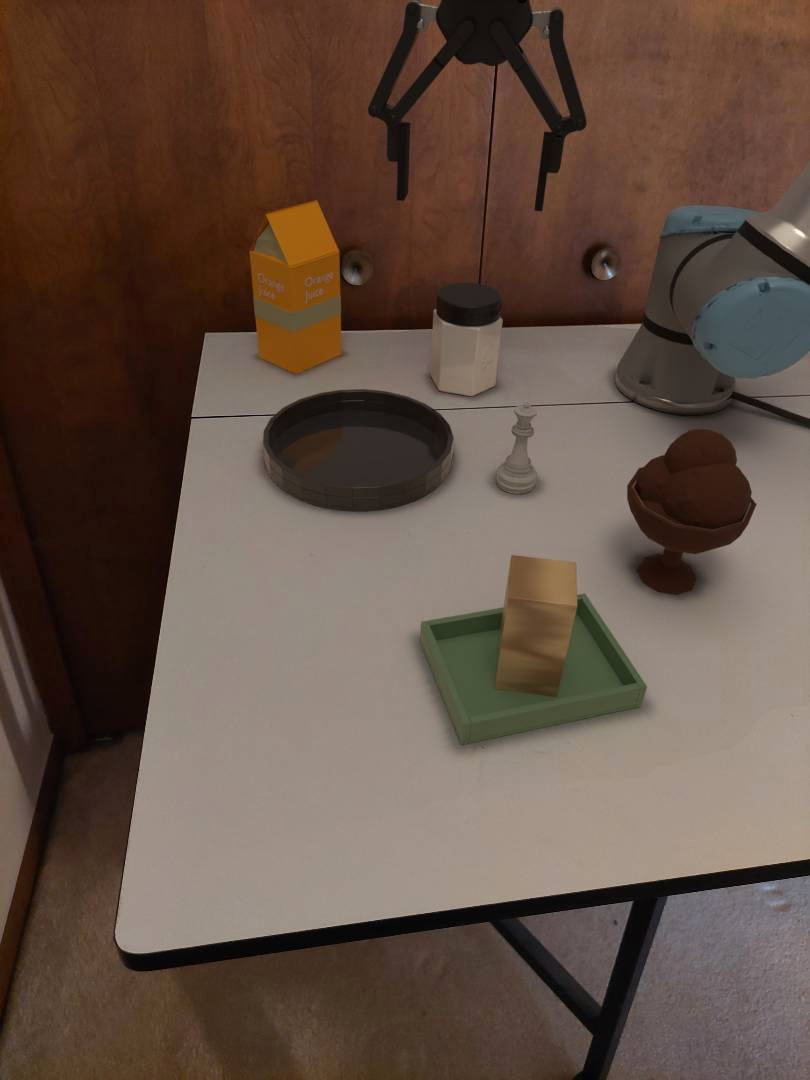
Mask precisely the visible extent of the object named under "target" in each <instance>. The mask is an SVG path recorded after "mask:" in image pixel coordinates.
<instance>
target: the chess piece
mask: <svg viewBox="0 0 810 1080" xmlns="http://www.w3.org/2000/svg"><path fill="white" fill-rule="evenodd" d="M513 409H514V410H513V412H514V414H515V416H516V417H517V421H516V423H515V424H513V425H512V427H511V434H512V435H513V436H514V437H515V439H514V445H513V447H512V451H511V453H510V455H509V454H508V456H506V458H505V461H503V462H502V463H500V465H498V467H497V471H496V475H495V483H496V485H497V487H499V488H500V489H501V490H502V491H504V492H506V493H510V494H515V495H520V494H521V495H522V494H527V493H529V492H532V491H533V490H534V489H535V487H536V483H537V473H538V472H537V470H536V468H535V467H534V466H533V465H532V459H531V458H530V457H529V454H528V439H530V438H531V437H533V436H534V434H535V428H534V427H533V426H532V423H531V421H532V420H533V419H534V418H535V417H536V416H537V414H538V410H537V408H535V407H534V406H531V405H530V403H529V402H528V401H525V402H524V403H522V404H520V405H517V406H515V407H514V408H513Z"/></svg>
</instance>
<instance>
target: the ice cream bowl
mask: <svg viewBox="0 0 810 1080" xmlns="http://www.w3.org/2000/svg"><path fill="white" fill-rule="evenodd" d="M737 463H738V457H737V451H736V449H735V447H734V445H733V443H732V441H730V440H729V439H728V438H727V437H726V436H725V435H723V434H722V433H719V432H718V431H715V430H713V429H710V428H695V429H691V430H688V431H685V432H684V433H681V434H680V435H679V436H678V437H677V438H676V439H675V440H674V441H673V442H671V443H670V444H669V446H668V447H667V449H666V451H665V453H664V454H663V455H659V456H656V457H654V458H651V459H650V460H649V461H648V462H647V463H646V464H645V465H644V466H642V467H639V468H637V470H636V472H635V473H634V475H633V476H632V477H631V479H630V481H629V482H628V484H627V486H626V500H627V503H628V507H629V510H630V512H631V514H632V517H633V518H634V520H635V522H636V523H637V526H638V528H639V530H640V531H641V532H642V534H644V536H646V538H647V539H649V540H651V541H652V542H654V543H656V544H658V545H659V546H661V547H663V548H664V550H663V553H656V554H651V555H648V556H645V557H644V558H643V559H642V561H641V563H639V566H638V567H637V569H636V572H637V574H638V576H639V577H640V580H641V582H642V583H643V584H645V585H646V586H648V587H649V588H651V589H653V590H654V591H656V592H657V593H665V594H670V595H676V596H677V595H681V594H684V593H687V592H690V591H692V590H693V588H694V586H695V584H696V582H697V575H696V573H695V571H694V569H693V567H692V566H691V564H690V563H688V562H686V561H685V560H683V556H684V555H683V554H688V555H699V554H702V553H705V552H708V551H712V550H715V549H719V548H723V547H725V546H729V545H732V544H733V543H734V542H735V541H737V539H739V538H740V537H741V536H742V534H743V533H744V531H745V530H746V529H747V527H748V526H749V523H750V521H751V520H752V516H753V514H754V512H755V510H756V507H757V505H758V504H757V503H756V502H755V500H754V499H753V497H752V494H753V492H752V487H751V484H750V481H749V480H748V478H747V477H746V476H745V474H744V472H743V471H742V470H741V468H739V466H737Z"/></svg>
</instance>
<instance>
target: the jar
mask: <svg viewBox="0 0 810 1080" xmlns="http://www.w3.org/2000/svg"><path fill="white" fill-rule="evenodd" d="M502 301H503V296H502V293H501V292H500V291H499V290H497V289H496V288H494V287H491V286H489V285H486V284H482V283H476V282H454V283H449V284H447V285H443V286H442V287H440V288H439V289H438V291H437V293H436V308H434V309H433V313H432V315H433V316H432V334H431V350H430V351H431V352H430V368H429V369H430V370H429V375H430V377H431V379H432V381H433V383H434V384H435V386H436V388H437V390H438V391H439V392H443V393H449V394H456V395H461V396H466V397H467V396H468V397H474V396H476V395H479V394H481V393H483V392H485V391H488V390H489V389H492V388H494V387H495V386H496V384H497V375H498V366H499V357H500V347H501V340H502V331H503V330H502V329H503V322H504V321H503V317H501V312H502V307H503V302H502Z"/></svg>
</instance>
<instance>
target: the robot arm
mask: <svg viewBox="0 0 810 1080" xmlns="http://www.w3.org/2000/svg"><path fill="white" fill-rule="evenodd" d="M564 16H565V15H564V10H563V9H562V7H560V6H554V7H552V8H551V9H547V10H535V11H533V10H532V6H531V0H440V2H439V5H438V6H437V5H433V4H427V3H422V1H421V0H411V1H409V2H408V3H407V4H406V6H405V11H404V18H403V19H404V20H403V27H402V32H401V35H400V37H399V39H398V41H397V43H396V46H395V47H394V49H393V52H392V54H391V55H390V57H389V60H388V63H387V66H386V67H385V69H384V71H383V74H382V76H381V79H380V80H379V83H378V85H377V87H376V89H375V92H374V94H373V95H372V98H371V101H370V103H369V105H368V107H367V113H368V115H369V116H370V117H371V118H376V119H379V120H381V121H382V122H384V123H385V125H386V134H387V135H386V156H387V157H386V158H387V160H388V162H389V163H390V162H392V163H397V167H396V168H397V171H396V201H398V202H399V201H401V202H405V200H406V198H407V197H408V195H409V180H410V179H409V177H410V176H409V175H410V147H411V122H405V121H403V119H404V117H405V116H406V115H407V113H408V112H409V111H410V110H411V109H412V108H413V106H414V105H415V104H416V103H417V101H419V99H420V98H421V97H422V95H423V94H424V93H425V92H426V91H427V89H428V88H429V87H430V86H431V84H432V83H433V82H434V81H435V80H436V78H437V77H438V76H439V75H440V73H442V71H443V70H444V69H445V68H446V66H448V64H449V62H451V60H452V59H453V57H454V58H455V59H456V60H457V61H459V62H460V63H462V65H468V66H469V65H470V66H471V65H475V64H476V65H477V64H483V65H485V66H487V67H498V66H499V65H502V64H503V63H506V61H507V63H508V64H509V65H510V68H511V69H512V70H513V71H514V73H515V74H516V76H517V78H518V79H519V81H520V82H521V84H522V86H523V87H524V90H526V92H527V93H528V95H529V97H530V99H531V100H532V102H533V103H534V105H535V107H536V108H537V110H538V111H539V113H540V115H541V116H542V118H543V120H544V122H545V123H546V125H547V126H548V128H549V130H550V131H543V137H542V145H541V152H540V153H541V154H540V160H539V170H538V177H537V183H536V184H537V185H536V194H535V200H534V212H543V209H544V203H545V202H544V201H545V193H546V187H547V178H548V174H558V173H559V171H560V170H561V166H562V158H563V151H564V145H565V140H566V137H567V136H568V135H570V134H572V133H574V132H581V131H583V130H585V129H586V127H587V125H588V122H587V121H588V120H587V116H586V112H585V109H584V105H583V101H582V98H581V94H580V92H579V87H578V84H577V80H576V78H575V74H574V70H573V67H572V64H571V60H570V57H569V56H570V55H569V54H568V49H567V45H566V43H565V40H564V24H565V23H564V21H565V20H564V19H565V17H564ZM431 22H436V25H437V27H438V29H439V30H440V32H441V34H442V36H443V38H444V40H445V41H446V42H445V43H444V44H443V46H442V47H441V48H440V49H439V50H438V52H437V53H436V55H435V56H433V58H432V59H431V61H430V62H429V63H428V65H426V67H424V69H423V71H422V72H421V73H420V74H419V75H418V77H417V78H416V79H415V80H414V82H413V83H412V84H411V85H410V86H409V88H408V89H407V90H406V92H405V93H404V94H403V95H402V96H401V98H400V99H399V100H398V101H397V102H396V104H395V105H394V106H393V105H392V104H389V103H388V102H389V100H390V97H391V95H392V93H393V92H394V89H395V87H396V86H397V85H396V84H397V82H398V81H399V78H400V76H401V74H402V72H403V70H404V67H405V66H406V64H407V61H408V60H409V57H410V54H412V53H411V52H412V50H413V49H414V46H415V44H416V42H417V40H418V37H419V34H420V33H424V32H426V30H428V27H429V25H430V23H431ZM532 27H536V28H537V29H538V31H539V35H540V37H541V38H542V39H543V40H548V43H549V48H550V52H551V56H552V60H553V62H554V66H555V70H556V73H557V76H558V78H559V82H560V86H561V89H562V93H563V96H564V99H565V103H566V106H567V109H568V113H569V115H567V116H564V117H563V116H562V114H561V112H560V110H559V108H558V107H557V105H556V104H555V102H554V101H553V99H552V97H551V96H550V94H549V92H548V91H547V89H546V87H545V85H544V83H543V82H542V80H541V79H540V77H539V76H538V74H537V72H536V70H535V69H534V67H533V65H532V63H531V62H530V60H529V59H528V55H526V53H525V51H524V50H523V48H522V46H521V42H522V41H523V40H524V38H525V37H526V36H527V34H528V33H529V31H530V30H531V29H532ZM663 224H664V225H663V228H662V231H661V232H660V234H659V237H658V238H659V242H658V248H657V253H656V257H655V260H654V261H655V262H654V265H653V270H652V275H651V279H650V284H649V288H648V293H647V298H646V302H645V306H644V312H643V316H642V320H641V324H640V326H639V328H638V330H637V331H636V333H635V334H634V337H633V338H632V340H631V342H630V344H629V345H628V347H627V348H626V350H625V352H624V354H623V355H622V356H621V358H620V360H619V362H618V364H617V368H616V372H615V373H616V374H615V377H614V382H615V385H616V387H617V389H618V390H619V391H620V392H621V393H622V394H623V395H624V396H625V397H627V398H628V399H630V400H632V401H633V402H635V403H637V404H639V405H642V406H644V407H647V408H648V409H649V408H650V409H652V410H656V411H660V412H663V413H669V414H676V415H687V416H689V415H692V416H693V415H696V416H697V415H705V414H711V413H715V412H718V411H721V410H723V409H724V408H726V407H727V406H729V404H730V403H731V402H732V400H734V401H739V402H740V403H744V404H746V405H748V406H751V407H754V408H757V409H760V410H763V411H765V412H768V413H771V414H773V415H776V416H779V417H781V418H784V419H786V420H788V421H791V422H795V423H798V424H800V425H804V426H807V427H810V417H807V416H804V415H800V414H798V413H794V412H792V411H789V410H786V409H784V408H781V407H778V406H777V405H773V404H771V403H768V402H766V401H762V400H760V399H756V398H754V397H751V396H750V395H749V396H748V395H747V394H744V393H743V394H742V393H740V392H737V391H735V389H736V379H742V380H752V379H753V380H754V379H758V378H762V377H770V376H773V375H776V374H779V373H781V372H783V371H786V370H787V369H789V368H791V367H792V366H794V365H795V364H797V363H798V362H799V361H801V360H802V359H803V358H804V357H805V356H806V355H807V354H808V353H809V352H810V160H809V161H808V163H807V164H806V165H805V167H804V168H803V169H802V170H801V172H799V175H798V176H797V177H796V178H795V179H794V181H793V182H792V183H791V184H790V186H789V187H788V188H787V190H786V191H785V192H784V193H783V195H782V196H781V198H780V199H779V200H778V201H777V202H776V204H775V205H774V206H773V207H772V208H771V209H770V210H768V211H763V212H759V211H755V210H751V209H746V208H740V207H731V206H722V205H704V204H703V205H701V204H700V205H684V206H679V207H676V208H674V209H672V210H671V211H669V213H668V214H667V215H666V218H665V221H664V223H663Z"/></svg>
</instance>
